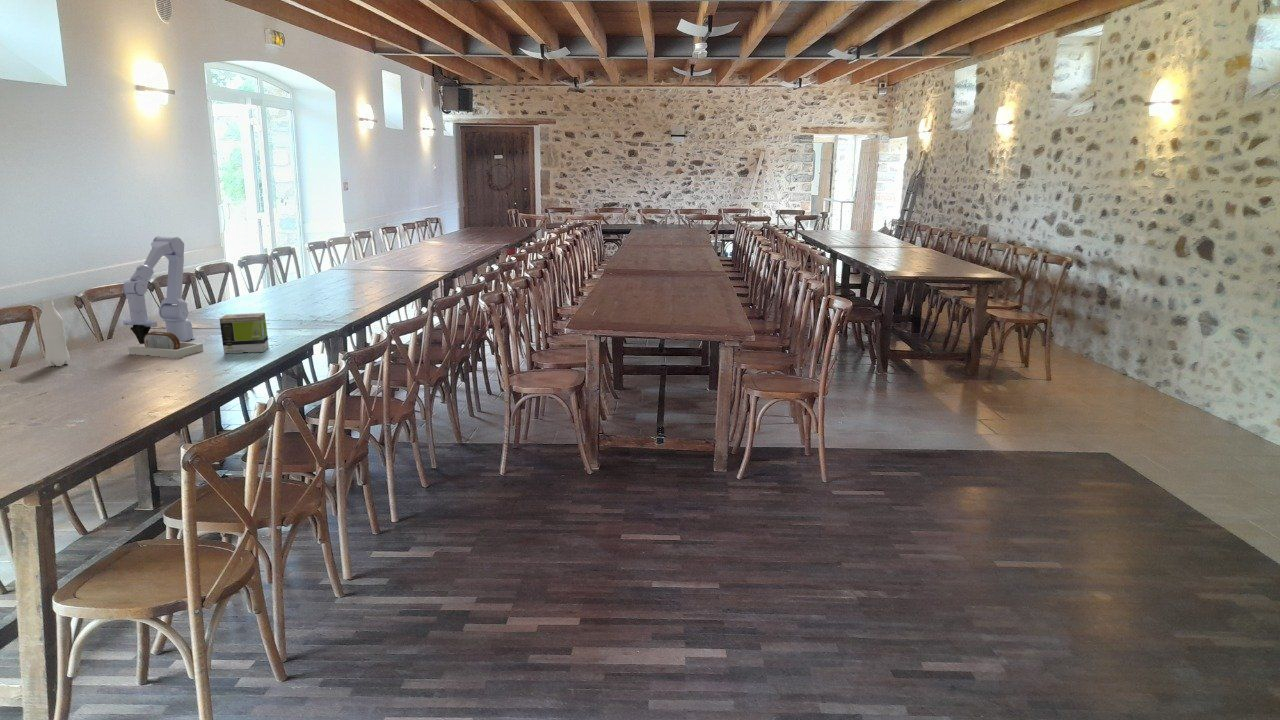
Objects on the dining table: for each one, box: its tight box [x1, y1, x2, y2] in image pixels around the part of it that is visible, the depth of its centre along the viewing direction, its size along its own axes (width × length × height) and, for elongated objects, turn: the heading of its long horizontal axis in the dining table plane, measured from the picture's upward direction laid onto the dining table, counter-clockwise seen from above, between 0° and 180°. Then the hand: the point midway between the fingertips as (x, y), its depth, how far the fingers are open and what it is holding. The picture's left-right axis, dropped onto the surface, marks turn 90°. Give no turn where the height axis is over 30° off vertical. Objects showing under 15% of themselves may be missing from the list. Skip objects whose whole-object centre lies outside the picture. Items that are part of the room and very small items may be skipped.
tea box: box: [219, 312, 270, 355], centre depth 308 cm, size 15×10×15 cm, turn 105°
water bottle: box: [38, 298, 71, 367], centre depth 280 cm, size 7×7×25 cm
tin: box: [143, 331, 180, 350], centre depth 303 cm, size 15×3×8 cm, turn 78°
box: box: [127, 341, 204, 359], centre depth 304 cm, size 13×23×3 cm, turn 76°
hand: (143, 343), depth 306 cm, fingers closed
